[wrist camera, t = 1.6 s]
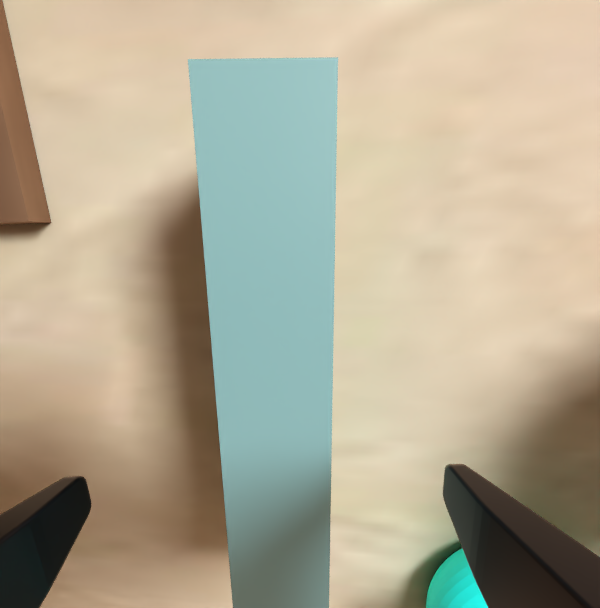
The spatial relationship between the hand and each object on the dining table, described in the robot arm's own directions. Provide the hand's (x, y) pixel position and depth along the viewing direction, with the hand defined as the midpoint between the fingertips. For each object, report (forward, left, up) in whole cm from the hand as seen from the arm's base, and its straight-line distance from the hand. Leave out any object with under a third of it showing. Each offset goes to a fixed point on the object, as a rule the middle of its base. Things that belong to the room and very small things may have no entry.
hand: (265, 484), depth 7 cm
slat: (0, 0, -9) cm, 9 cm away
